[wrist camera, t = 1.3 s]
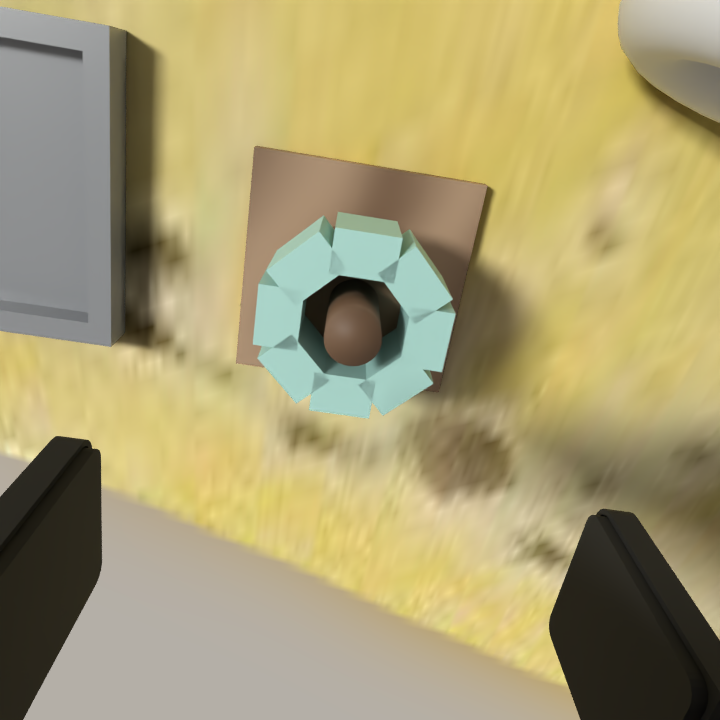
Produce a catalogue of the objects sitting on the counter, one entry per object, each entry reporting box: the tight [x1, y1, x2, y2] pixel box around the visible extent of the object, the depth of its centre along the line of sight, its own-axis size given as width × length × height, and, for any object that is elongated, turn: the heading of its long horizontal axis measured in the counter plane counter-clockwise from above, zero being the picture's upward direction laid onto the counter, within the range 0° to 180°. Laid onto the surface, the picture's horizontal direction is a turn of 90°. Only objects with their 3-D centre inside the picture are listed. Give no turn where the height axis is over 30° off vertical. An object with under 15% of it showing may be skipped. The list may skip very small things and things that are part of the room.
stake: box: [236, 146, 487, 392], centre depth 24 cm, size 10×10×8 cm
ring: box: [253, 212, 456, 418], centre depth 23 cm, size 7×7×3 cm
